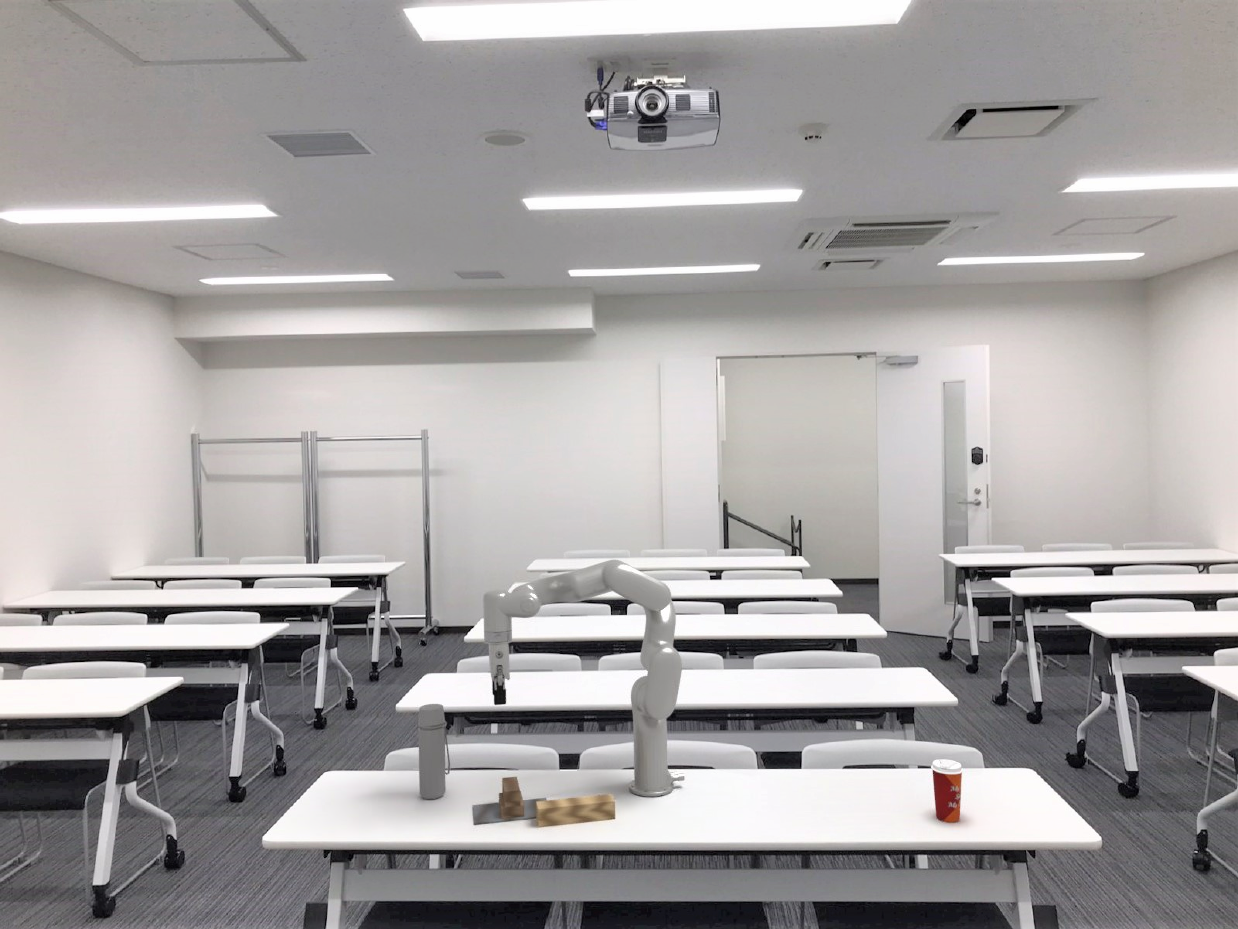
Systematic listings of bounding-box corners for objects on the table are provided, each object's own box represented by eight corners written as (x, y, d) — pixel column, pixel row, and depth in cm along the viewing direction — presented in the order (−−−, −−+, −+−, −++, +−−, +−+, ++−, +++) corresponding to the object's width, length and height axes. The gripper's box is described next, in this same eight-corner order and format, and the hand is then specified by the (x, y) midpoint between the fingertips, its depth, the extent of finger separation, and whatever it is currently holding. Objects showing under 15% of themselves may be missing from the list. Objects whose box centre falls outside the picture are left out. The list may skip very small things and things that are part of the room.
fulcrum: (546, 799, 233) (545, 772, 233) (551, 816, 221) (550, 788, 221) (472, 806, 229) (472, 779, 229) (474, 825, 217) (473, 796, 217)
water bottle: (427, 803, 232) (426, 712, 231) (414, 795, 237) (412, 706, 237) (457, 794, 238) (455, 705, 238) (443, 786, 244) (441, 700, 243)
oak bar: (611, 812, 224) (611, 793, 224) (615, 820, 219) (614, 801, 219) (536, 820, 220) (536, 801, 220) (538, 828, 215) (538, 809, 215)
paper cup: (961, 827, 210) (960, 771, 210) (929, 820, 214) (927, 765, 214) (966, 815, 217) (965, 761, 217) (935, 809, 221) (934, 756, 221)
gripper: (514, 642, 221) (515, 707, 221) (509, 629, 237) (511, 690, 238) (485, 643, 219) (486, 709, 219) (483, 631, 236) (484, 692, 236)
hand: (499, 699), depth 228 cm, fingers open, 9 cm apart
